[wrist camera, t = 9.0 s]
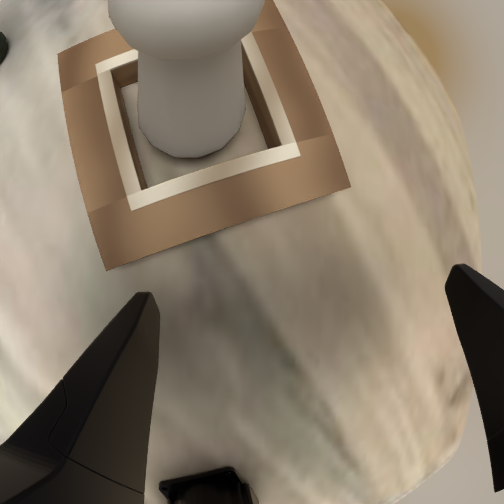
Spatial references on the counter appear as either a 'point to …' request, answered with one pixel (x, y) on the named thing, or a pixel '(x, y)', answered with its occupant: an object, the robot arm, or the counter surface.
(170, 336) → the counter surface
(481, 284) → the robot arm
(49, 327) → the counter surface
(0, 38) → the potato masher grenade
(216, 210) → the socket board
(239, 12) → the salt shaker
